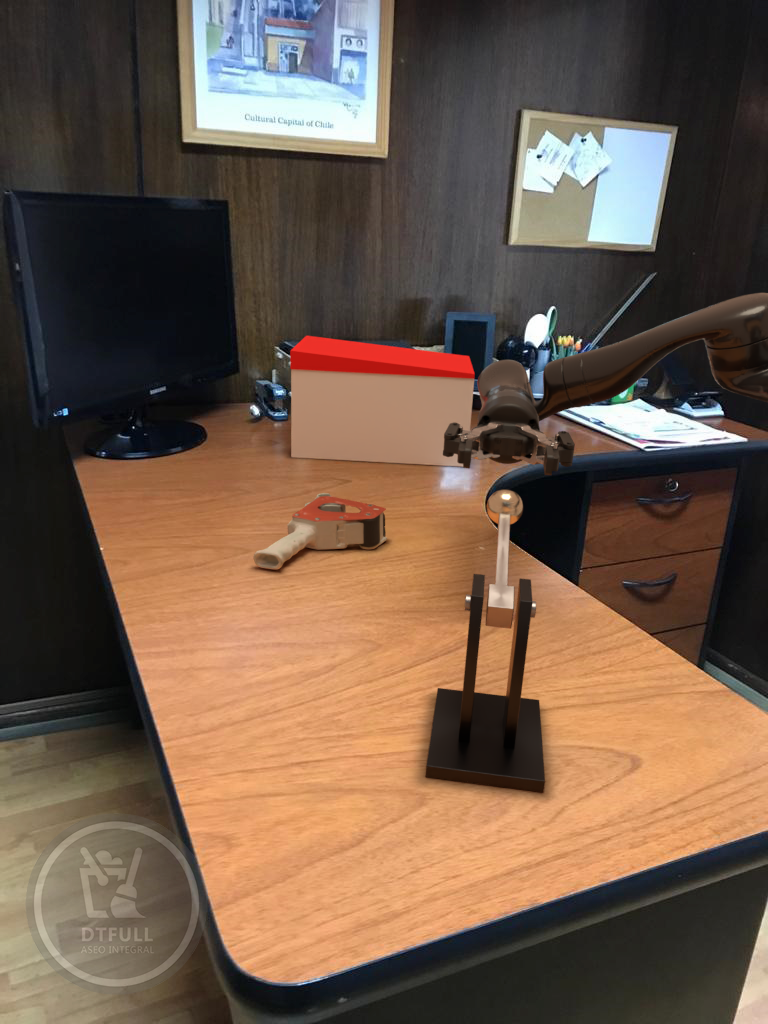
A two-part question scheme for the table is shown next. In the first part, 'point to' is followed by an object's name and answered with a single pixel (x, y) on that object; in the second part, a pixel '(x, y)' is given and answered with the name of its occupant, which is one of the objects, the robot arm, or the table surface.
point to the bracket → (490, 714)
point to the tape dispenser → (326, 529)
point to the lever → (502, 557)
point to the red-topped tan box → (376, 401)
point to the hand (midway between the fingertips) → (507, 462)
